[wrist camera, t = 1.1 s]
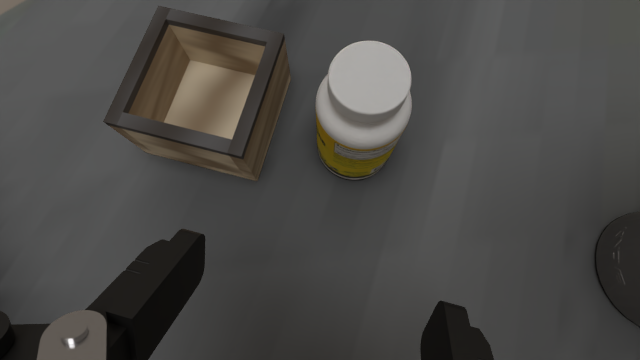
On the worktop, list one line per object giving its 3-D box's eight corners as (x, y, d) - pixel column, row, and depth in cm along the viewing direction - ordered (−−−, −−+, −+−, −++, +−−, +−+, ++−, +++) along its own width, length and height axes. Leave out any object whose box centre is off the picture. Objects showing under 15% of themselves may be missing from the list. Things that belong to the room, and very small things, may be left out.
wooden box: (290, 79, 32) (283, 34, 26) (257, 181, 29) (241, 156, 23) (187, 55, 32) (158, 5, 27) (146, 152, 30) (103, 121, 24)
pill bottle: (324, 109, 31) (325, 20, 20) (393, 121, 31) (431, 36, 20) (310, 174, 29) (304, 115, 19) (383, 188, 29) (419, 135, 18)
